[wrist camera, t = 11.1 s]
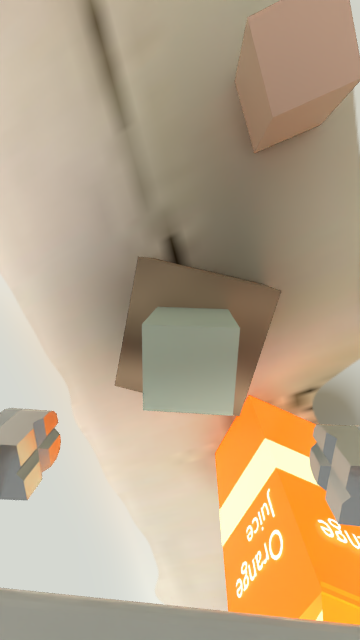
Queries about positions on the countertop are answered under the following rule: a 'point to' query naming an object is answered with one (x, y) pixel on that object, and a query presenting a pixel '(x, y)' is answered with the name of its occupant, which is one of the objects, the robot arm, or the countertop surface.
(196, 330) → the sage cube
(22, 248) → the countertop surface
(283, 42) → the terracotta cube
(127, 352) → the walnut block
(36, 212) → the countertop surface
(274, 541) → the orange juice
